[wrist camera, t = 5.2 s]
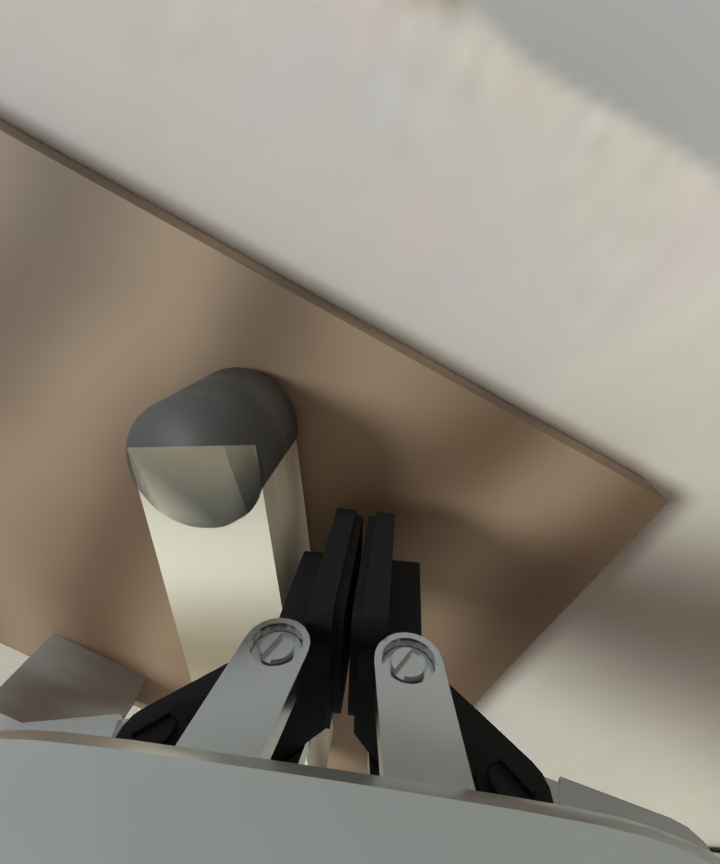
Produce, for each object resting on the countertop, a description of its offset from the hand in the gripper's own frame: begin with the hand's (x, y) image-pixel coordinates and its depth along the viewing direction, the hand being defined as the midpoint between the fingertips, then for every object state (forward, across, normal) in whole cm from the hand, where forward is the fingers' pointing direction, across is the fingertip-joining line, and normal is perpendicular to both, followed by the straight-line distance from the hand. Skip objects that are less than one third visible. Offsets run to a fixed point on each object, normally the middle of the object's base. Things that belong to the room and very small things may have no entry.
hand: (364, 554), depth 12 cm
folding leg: (+1, +3, +3) cm, 4 cm away
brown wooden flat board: (+3, +7, +1) cm, 8 cm away
